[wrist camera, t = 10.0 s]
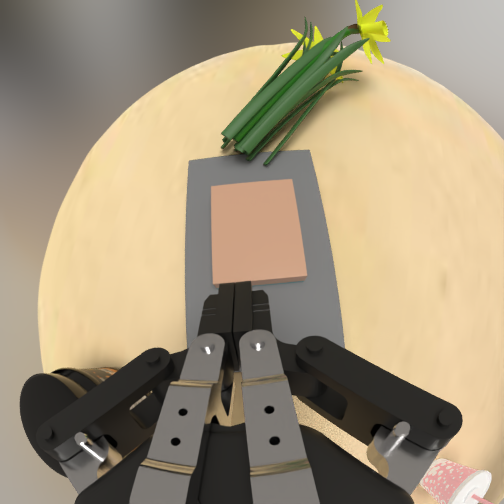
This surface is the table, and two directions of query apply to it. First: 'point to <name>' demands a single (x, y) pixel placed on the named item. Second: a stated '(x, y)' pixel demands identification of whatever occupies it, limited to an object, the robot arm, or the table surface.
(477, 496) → the beverage cup
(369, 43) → the daffodil flowers
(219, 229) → the tile
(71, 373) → the supplement container
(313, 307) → the felt mat
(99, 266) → the table surface
